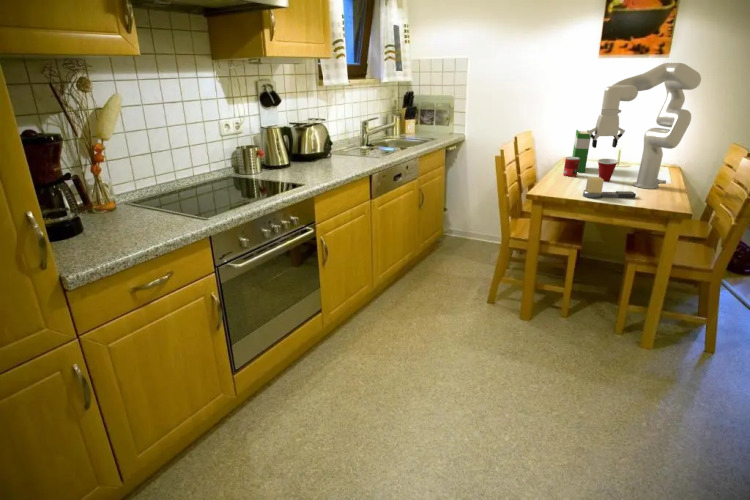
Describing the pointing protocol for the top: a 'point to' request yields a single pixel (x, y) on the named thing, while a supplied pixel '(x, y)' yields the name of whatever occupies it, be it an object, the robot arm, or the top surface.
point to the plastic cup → (606, 168)
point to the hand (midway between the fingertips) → (604, 147)
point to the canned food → (571, 166)
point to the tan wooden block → (594, 185)
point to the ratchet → (610, 194)
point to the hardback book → (581, 148)
